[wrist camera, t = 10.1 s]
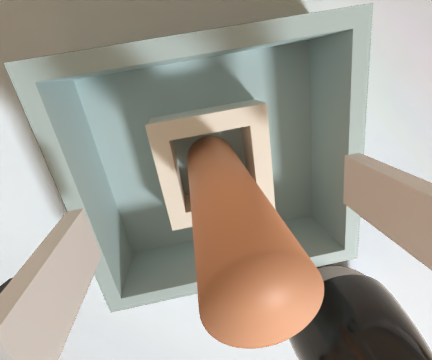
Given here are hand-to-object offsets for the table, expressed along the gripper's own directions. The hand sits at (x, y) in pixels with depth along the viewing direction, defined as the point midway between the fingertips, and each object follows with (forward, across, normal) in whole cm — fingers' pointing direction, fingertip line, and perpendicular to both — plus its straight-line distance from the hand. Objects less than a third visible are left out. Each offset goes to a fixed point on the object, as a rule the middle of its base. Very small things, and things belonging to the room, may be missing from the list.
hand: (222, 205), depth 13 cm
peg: (+8, 0, 0) cm, 8 cm away
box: (+9, 0, 0) cm, 9 cm away
